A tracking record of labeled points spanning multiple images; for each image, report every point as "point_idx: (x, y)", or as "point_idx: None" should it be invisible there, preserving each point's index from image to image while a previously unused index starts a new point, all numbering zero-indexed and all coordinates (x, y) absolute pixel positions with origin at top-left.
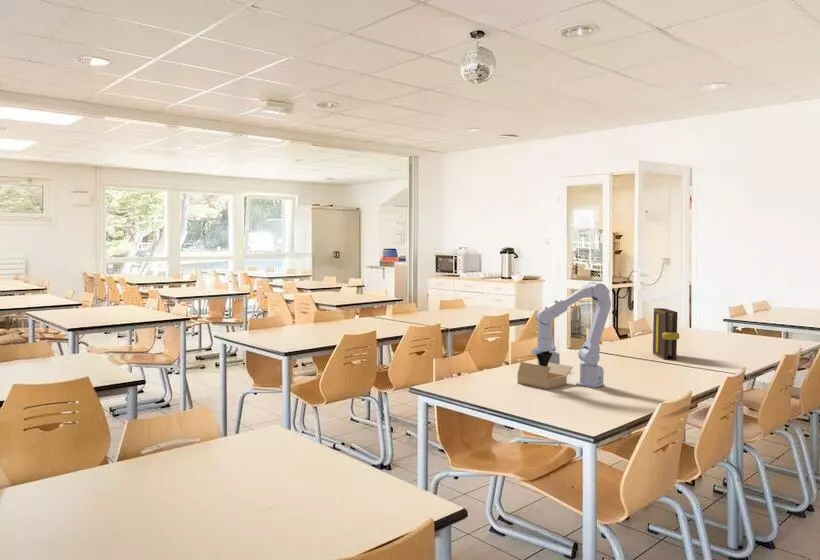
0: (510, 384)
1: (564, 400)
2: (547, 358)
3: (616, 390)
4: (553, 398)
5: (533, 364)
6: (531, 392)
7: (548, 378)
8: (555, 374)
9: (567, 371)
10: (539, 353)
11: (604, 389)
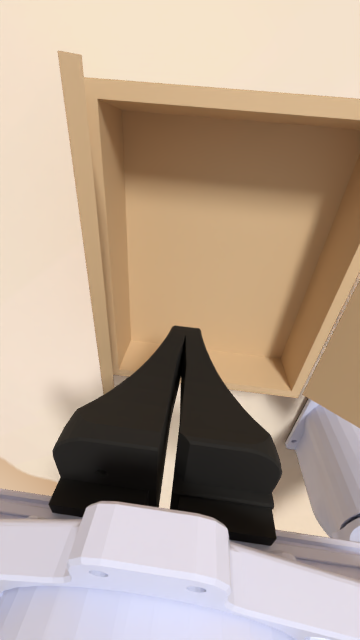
0: (34, 76)
1: (50, 429)
2: (163, 467)
3: (292, 483)
4: (36, 403)
5: (92, 310)
6: (20, 313)
7: (324, 261)
8: (315, 333)
9: (339, 408)
10: (33, 503)
11: (285, 463)
